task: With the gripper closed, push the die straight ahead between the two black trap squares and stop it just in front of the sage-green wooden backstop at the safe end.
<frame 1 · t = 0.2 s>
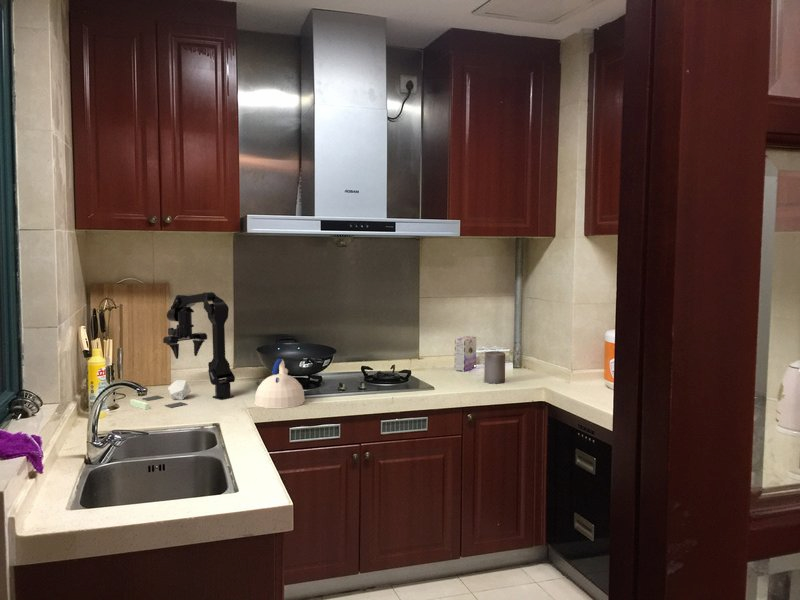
hand: (186, 357, 287), 14 cm above the worktop, tool pointing down, fingers open, 9 cm apart
candy box: (465, 369, 333), on the worktop
pillar candle: (494, 382, 302), on the worktop
trap lane: (164, 401, 264), on the worktop
die: (179, 399, 269), on the worktop
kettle: (280, 403, 263), on the worktop
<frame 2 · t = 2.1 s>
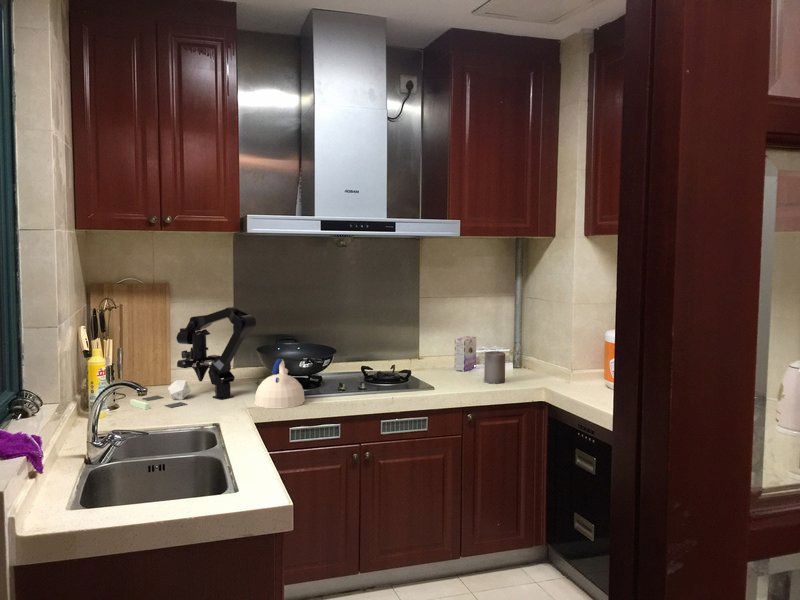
hand: (200, 381, 276), 6 cm above the worktop, tool pointing down, fingers closed
nothing on the worktop moved.
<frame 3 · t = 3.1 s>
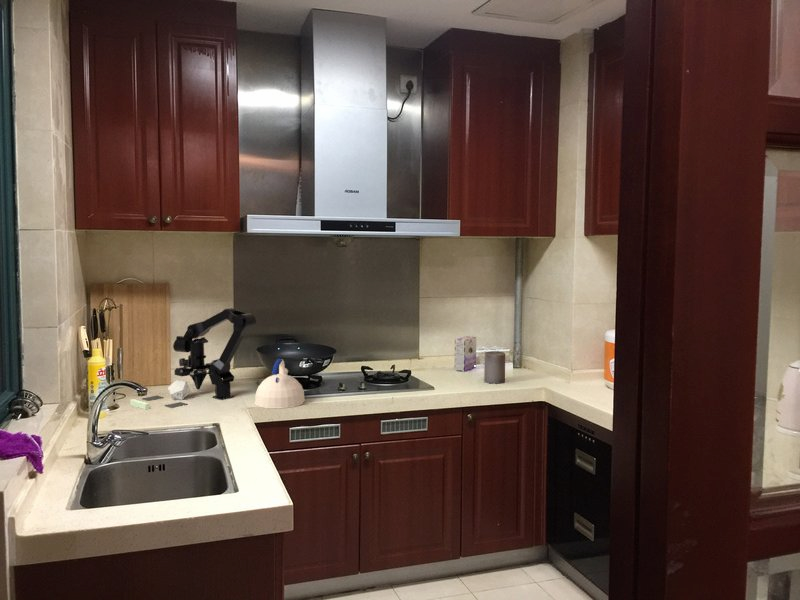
hand: (198, 389, 275), 3 cm above the worktop, tool pointing down, fingers closed
nothing on the worktop moved.
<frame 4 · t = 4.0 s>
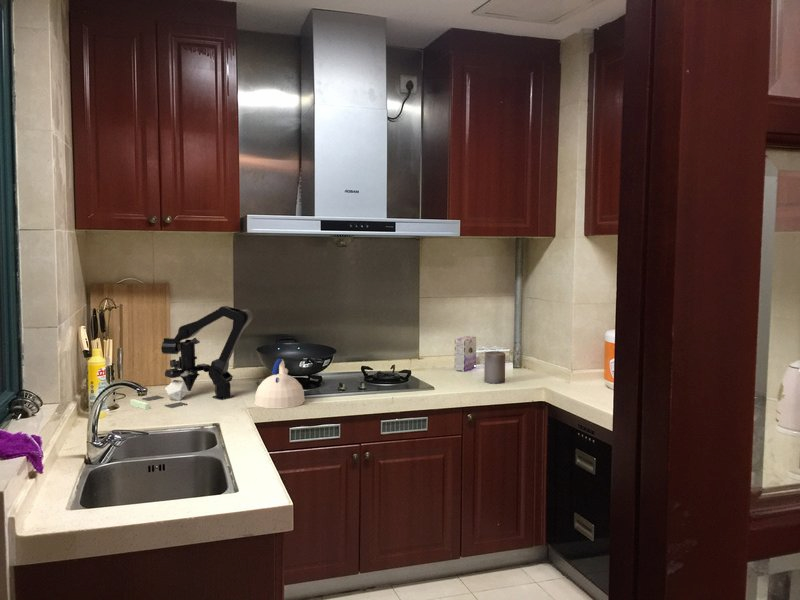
hand: (189, 390, 272), 3 cm above the worktop, tool pointing down, fingers closed
die: (177, 399, 268), on the worktop, touching gripper
everything else where it was.
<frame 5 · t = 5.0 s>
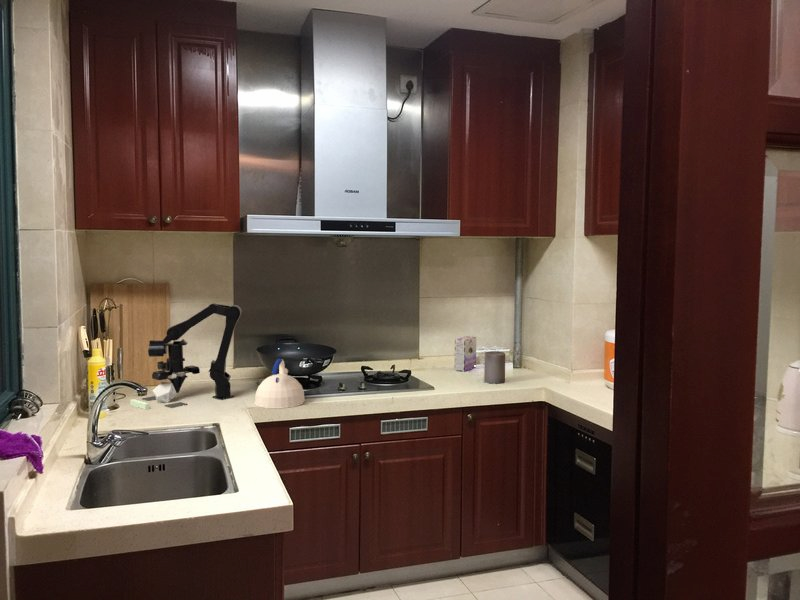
hand: (177, 393, 268), 3 cm above the worktop, tool pointing down, fingers closed
die: (165, 401, 264), on the worktop, touching gripper
everything else where it was.
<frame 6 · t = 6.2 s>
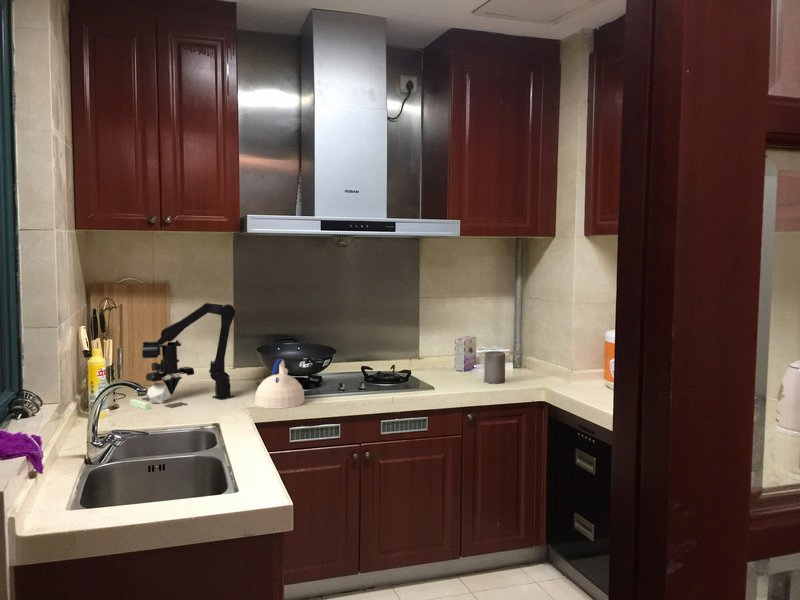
hand: (171, 394, 266), 2 cm above the worktop, tool pointing down, fingers closed
die: (158, 403, 263), on the worktop, touching gripper
everything else where it was.
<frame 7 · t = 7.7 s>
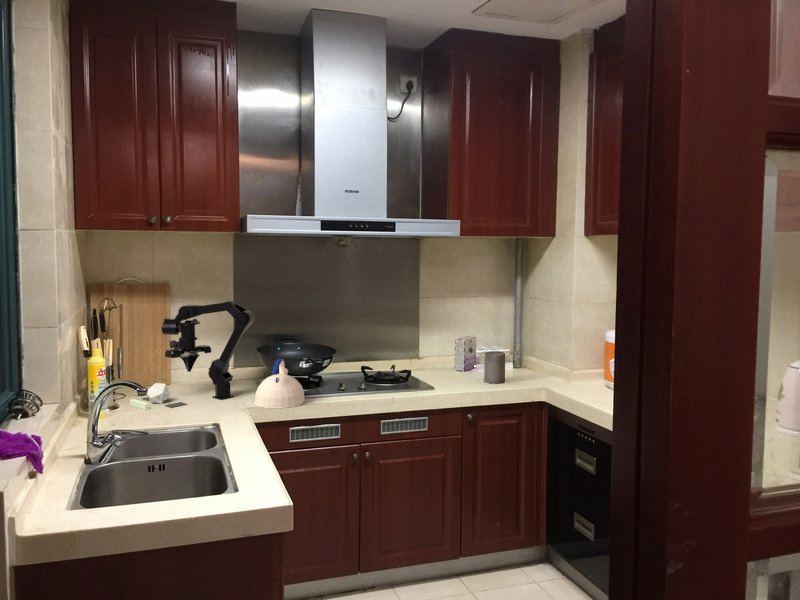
hand: (189, 371, 272), 11 cm above the worktop, tool pointing down, fingers closed
die: (158, 403, 263), on the worktop
everything else where it was.
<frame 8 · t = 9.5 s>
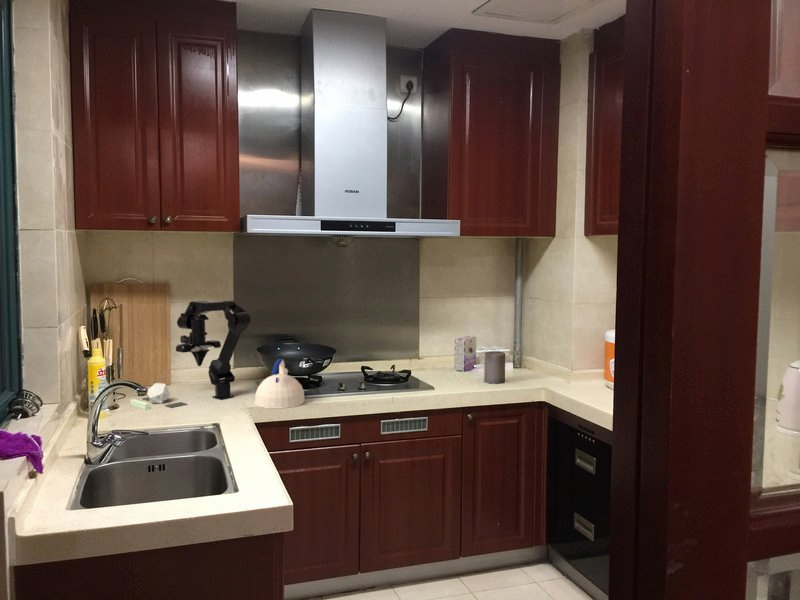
hand: (199, 366, 278), 12 cm above the worktop, tool pointing down, fingers closed
nothing on the worktop moved.
at the end: die inside the target area (2.2 cm from its centre), on the worktop; die tilted 0° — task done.
